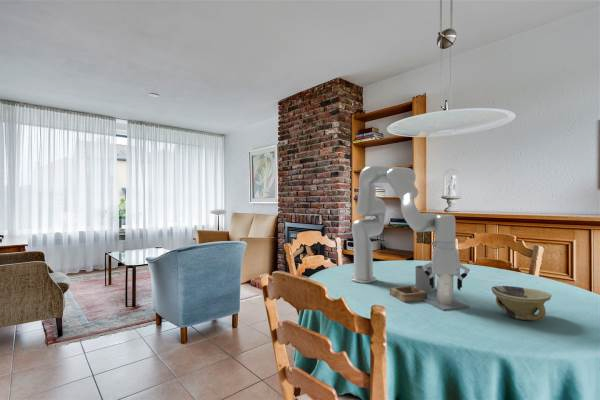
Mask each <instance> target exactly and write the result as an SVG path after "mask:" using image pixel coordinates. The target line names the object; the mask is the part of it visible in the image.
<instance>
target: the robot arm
mask: <svg viewBox="0 0 600 400" xmlns="http://www.w3.org/2000/svg"><path fill="white" fill-rule="evenodd" d="M416 178H417V177H416V173H415V171H414V170H413V169H412V168H409V167H405V166H403V167H402V166H389V165H388V166H387V165H375V164H374V165H367V166H365V167H364V168H363V169H362V170H361V171H360V173H359V176H358V195H357V201H356V202H357V203H356V213H357V215H359V216H361V217H363V218H360V219H359V218H358V219H355V221H353V222H352V224H351V234H352V238H353V239H352V242H353V275H352V276H351V278H350V279H351V281H352V282H355V283H361V284H368V283H369V284H370V283H374V282H376V281H377V277H376V276H374V264H373V263H374V259H373V258H374V257H373V256H374V254H373V253H374V252H373V243H372V241H371V239H370V237H376V236H380V235H381V234H382V232H383V230H384V226H385V219H386V209H387V208H386V204H385V202H384V200H383V199H381V198H379V197H376V193H377V189H376V186H375V184H389V185H390V186H391V188H392V190H394V193H395V194H396V195H397V198H399V200H400V210H401V214H402V217H403V218H404V221H405V222H406V223H407V225H408V226H409V227H410V229H412V230H413V231H414V232H417V233H425V232H434V241H432V242H430V246H432V247H433V248H432V251H431V252H432V254H431V262H428V263H425V264H423V265H421V266H422V268H423V270H424V272H425V274H426V275H428V276H429V278H430V285H431V287H432V288H434V279H433V276H434V275H435V276H436V275H437V274H438V275H442V274H448V275H453V277H455V276H456V277H457V279H456V280H457V281H456V282H457V283H456V285H457V287H456V288H457V290H458V291H461V289H462V288H463V280H464V279H465V278H466V277H467V276H468V275H469V273H470V271H471V269H470V268H469V267H467V266H465V265H463V264H461V263H460V262H461V261H460V254H459V253H460V252H459V250H458V249H457V247H456V244H457V243H456V239H457V238H456V217H455V215H453V214H443V213H442V214H438V213H436V212H435V213H434V212H427V213H425V212H424V213H421V212H420V210H419V209H418V208H417V205H416V204H415V199H416V198H417V197H418V195H419V189H418V188H417V187H416V185H415V184H414V183H415V181H416ZM364 217H366V218H364ZM430 266H431V267H432V271H431V272H430V273H429V272H428V271H427V269H426V268H428V267H430ZM461 269H462V270H464V271H463V273H461Z"/></svg>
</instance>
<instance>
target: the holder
mask: <svg viewBox="0 0 600 400" xmlns="http://www.w3.org/2000/svg"><path fill="white" fill-rule="evenodd" d="M389 295H390V296H392V297H394V298H395V299H397V300H399V301H400V302H403V303H410V302H412V303H413V302H419V301H420V302H421V301H423V299H428V292H425V291H423V290H420V289H418V288H416V286H415V285H403V286H393V287H389Z"/></svg>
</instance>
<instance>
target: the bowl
mask: <svg viewBox="0 0 600 400" xmlns="http://www.w3.org/2000/svg"><path fill="white" fill-rule="evenodd" d="M490 288H491V292H492V293H493V295H495V302H496V304H497V305H498V307H499V308H500V309H501V310H502V311H504V312H505V314H506V315H507V316H508V317H510V318H515V319H518V320H523V321H534V322H537V321H541V320H543V319H544V318H545V317H546V313H547V312H546V307H545V303H546V302H548V301H550V300H551V298H552V294H551V293H550V292H548V291H544V290H539V289H535V288H534V289H533V288H528V287H520V286H514V285H513V286H512V285H511V286H509V285H494V286H492V287H490ZM536 312H538V313H537V314H536Z"/></svg>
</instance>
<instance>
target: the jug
mask: <svg viewBox="0 0 600 400" xmlns="http://www.w3.org/2000/svg"><path fill="white" fill-rule="evenodd" d="M436 298H437V302H438V303H440V304H443V305H452V304H454V276H453V275H448V274H442V275H438V274H436Z"/></svg>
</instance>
